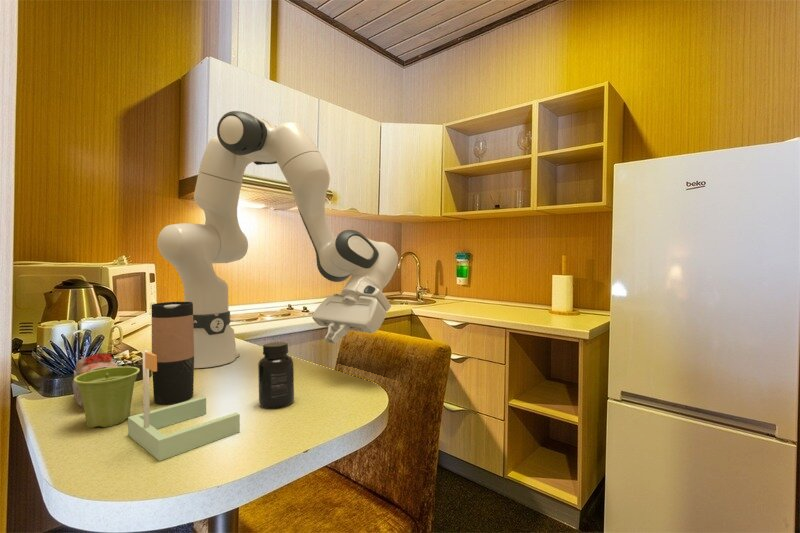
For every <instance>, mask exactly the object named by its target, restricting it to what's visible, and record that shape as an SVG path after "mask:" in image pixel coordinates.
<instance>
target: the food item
mask: <svg viewBox="0 0 800 533" xmlns="http://www.w3.org/2000/svg"><path fill="white" fill-rule="evenodd" d="M80 358H81V359H78V360H77V361H76V363H75V369H73V379H72V382H71V385H72V386H71V387H72V393H73V396H74V400H75V401H76V403H77V405H78V406H80V408H82V409H83V410H84V406H83V401H82V396H81V391H80V390H79V388H78V385H77V383H75V382H74V378H75V377H77V376H78V375H81V374H83V373H87V372H90V371H94V370H99V369H105V368H112V367H120V365H119V364H118V363H117V362H115V361H116V359H114V358H113V357H112V354H111V353H105V354H104V353H101V352H97V353H95V354H92V355H90V356H87V357H84V356H80Z"/></svg>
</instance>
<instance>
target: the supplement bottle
mask: <svg viewBox="0 0 800 533" xmlns="http://www.w3.org/2000/svg"><path fill="white" fill-rule="evenodd" d="M288 353H289V344H288V342H284V341H281V342H280V341H276V342H267V343H264V344H263V346H262V355H263V357H262V358H260V360H259V361H258V364H257V366H258V368H257V369H258V372H257V373H258V378H257V379H258V403H259V406H260V407H261V408H264V409H278V408H284V407H286V406H290V405H291V404H292V403H294V401H295V380H294V379H295V377H294V376H295V374H294V373H295V372H294V359H293V358H292V356H290V355H289V354H288Z"/></svg>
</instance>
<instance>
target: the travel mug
mask: <svg viewBox="0 0 800 533" xmlns="http://www.w3.org/2000/svg"><path fill="white" fill-rule="evenodd" d="M151 353H153V354H155V355H157V371H155V372H154V371H152V370H151V372H152V390H153V391H152V393H153V403H154V404H156V405H158V406H159V405H160V406H167V405H168V406H171V405H175V404H178V403H182V402H186V401H189V400H192V398H193V397H194V388H195V387H194V384H195V383H194V381H195V380H194V379H195V373H194V372H195V368H194V328H193V303H192V302H185V301H168V302H167V301H165V302H156V303H152V304H151Z"/></svg>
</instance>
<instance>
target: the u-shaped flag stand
mask: <svg viewBox="0 0 800 533" xmlns="http://www.w3.org/2000/svg"><path fill="white" fill-rule="evenodd" d="M150 371H151V372H152V371H154V372H155V371H157V355H155V354H153V353H152V352H150V351H149V349H142V389H143V390H142V395H143V396H142V399H143V401H142V403H143V406H142V408H143V412H142V413H139V414H135V415H134V414H133V415H131V416H130V415H129V417H128V418H127V426H128V427H127V435H128V436H129V437H130V438H131V439H132V440H133V441H134V442H136V443H137V444H138V445H140V447H142V448H143V449H144V450H145V451H147V453H149V454H150V455H151V456H152V457H154V458H155V459H156V460H157V461H158V462H162V461H164V460H167V459H169V458H173V457H175V456H177V455H180V454H183V453H185V452H189V451H192V450H193V449H197V448H199V447H202V446H204V445H208V444H210V443H213V442H216V441H218V440H221V439H224V438H227V437H230V436H232V435H235V434H238V433H240V431H241V427H240V426H241V424H240V421H241V420H240V419H241V417H240V416H241V414H240V413H238V412H233V413H230V414H226V415H224V416H221V417H218V418H215V419H212V420H211V419H210V420H208V421H205V422H202V423H198V424H196V425H192V426H189V427H186V428H184V429H180V430H178V431H174V432H171V433H169V434H164V433H162V432H161V431H159V429H163V428H166V427H169V426H172V425H174V424H178V423H181V422H184V421H189V420H190V419H194V418H197V417H201V416H205V415H207V397H204V396H201V397H197V398H193V399H189V400H187V401H184V402H181V403H177V404H171V405H168V406H167V405H166V406H164V407H160V408H157V409H153V410H150V406H151V405H150V404H151V403H150Z"/></svg>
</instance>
